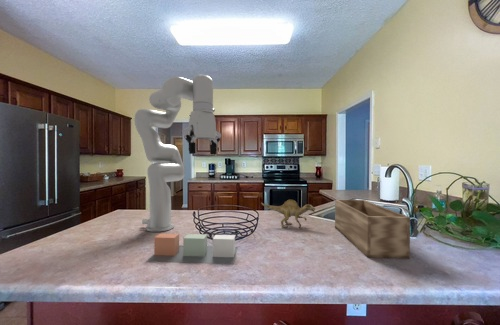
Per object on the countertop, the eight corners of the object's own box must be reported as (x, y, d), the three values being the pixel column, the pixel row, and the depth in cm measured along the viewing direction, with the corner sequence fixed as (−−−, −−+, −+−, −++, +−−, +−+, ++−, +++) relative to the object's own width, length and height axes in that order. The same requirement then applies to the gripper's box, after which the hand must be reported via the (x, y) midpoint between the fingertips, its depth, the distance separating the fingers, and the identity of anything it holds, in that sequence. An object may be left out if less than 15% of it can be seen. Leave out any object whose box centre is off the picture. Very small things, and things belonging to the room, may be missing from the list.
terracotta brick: (154, 255, 73) (154, 237, 72) (159, 250, 77) (159, 233, 76) (174, 255, 72) (174, 237, 72) (179, 250, 76) (179, 233, 76)
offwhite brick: (212, 256, 72) (212, 238, 71) (215, 251, 76) (215, 234, 75) (233, 257, 71) (233, 239, 71) (235, 252, 75) (235, 235, 75)
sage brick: (183, 255, 72) (183, 238, 72) (187, 250, 76) (187, 234, 76) (203, 256, 72) (203, 238, 72) (206, 251, 76) (207, 234, 76)
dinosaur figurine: (315, 229, 102) (315, 202, 102) (260, 226, 107) (260, 199, 107) (313, 225, 110) (313, 199, 110) (262, 222, 115) (262, 197, 114)
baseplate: (145, 263, 68) (145, 261, 68) (164, 247, 81) (164, 245, 81) (233, 266, 67) (233, 264, 67) (237, 249, 80) (237, 247, 80)
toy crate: (367, 257, 73) (367, 216, 73) (335, 227, 105) (335, 199, 105) (409, 258, 73) (410, 217, 72) (364, 228, 105) (364, 200, 104)
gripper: (214, 114, 91) (214, 154, 91) (177, 106, 78) (177, 153, 78) (226, 111, 86) (226, 154, 86) (188, 103, 73) (188, 153, 73)
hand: (203, 154), depth 82 cm, fingers open, 9 cm apart
